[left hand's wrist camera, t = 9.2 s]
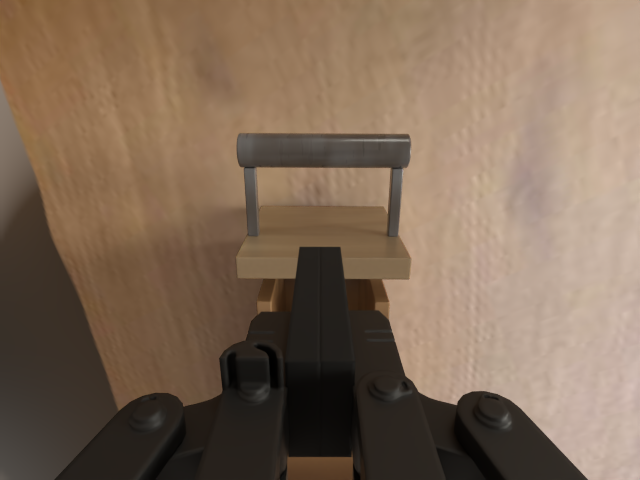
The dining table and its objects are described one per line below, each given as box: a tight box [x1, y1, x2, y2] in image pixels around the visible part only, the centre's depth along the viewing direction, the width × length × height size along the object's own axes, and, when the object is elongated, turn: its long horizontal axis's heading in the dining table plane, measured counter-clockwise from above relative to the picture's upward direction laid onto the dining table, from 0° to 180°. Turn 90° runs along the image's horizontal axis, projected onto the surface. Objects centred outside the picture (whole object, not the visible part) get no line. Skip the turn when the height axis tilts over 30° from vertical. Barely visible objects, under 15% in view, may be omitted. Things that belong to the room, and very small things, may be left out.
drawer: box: [236, 133, 411, 319], centre depth 26 cm, size 23×9×10 cm, turn 0°
